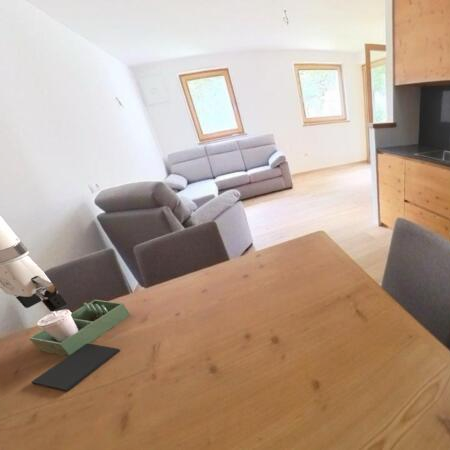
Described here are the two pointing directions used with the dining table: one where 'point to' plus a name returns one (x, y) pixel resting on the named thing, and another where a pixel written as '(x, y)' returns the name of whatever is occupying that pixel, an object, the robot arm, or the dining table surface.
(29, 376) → the dining table surface
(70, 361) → the mat
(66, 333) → the smoothie
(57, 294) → the robot arm
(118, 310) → the rack
